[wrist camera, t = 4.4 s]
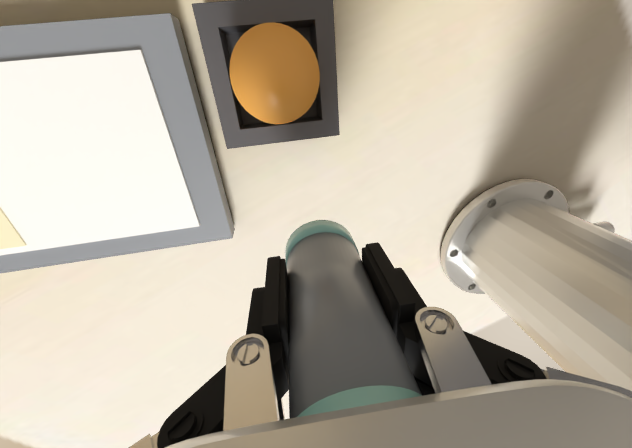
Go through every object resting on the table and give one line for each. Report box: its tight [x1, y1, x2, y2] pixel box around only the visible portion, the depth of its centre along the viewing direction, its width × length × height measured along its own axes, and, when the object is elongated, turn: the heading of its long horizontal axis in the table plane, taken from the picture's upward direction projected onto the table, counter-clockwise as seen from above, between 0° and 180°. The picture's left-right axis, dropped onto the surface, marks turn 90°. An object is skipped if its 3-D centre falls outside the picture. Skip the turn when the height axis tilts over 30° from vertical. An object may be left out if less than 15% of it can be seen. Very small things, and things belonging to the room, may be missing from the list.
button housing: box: [192, 0, 339, 149], centre depth 16 cm, size 7×7×3 cm
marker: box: [286, 220, 422, 418], centre depth 10 cm, size 4×4×11 cm
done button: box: [229, 23, 320, 124], centre depth 14 cm, size 4×4×2 cm
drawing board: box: [0, 13, 235, 273], centre depth 17 cm, size 20×14×2 cm
